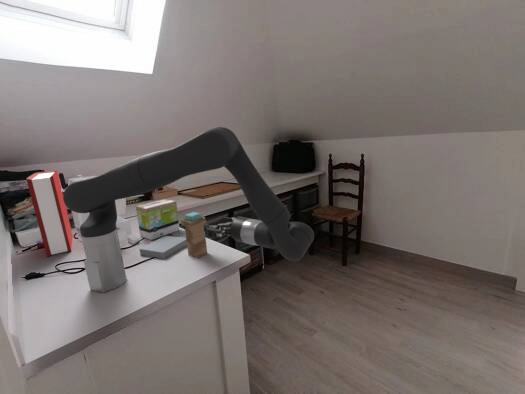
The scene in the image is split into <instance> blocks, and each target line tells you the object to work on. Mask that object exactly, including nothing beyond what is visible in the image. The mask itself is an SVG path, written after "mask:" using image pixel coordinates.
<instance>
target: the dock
mask: <svg viewBox="0 0 525 394" xmlns="http://www.w3.org/2000/svg"><path fill="white" fill-rule="evenodd" d="M186 246H187V241H186V237H180V236H178V237H177V236H172V235H171V236H169V235H164V236H161V237H159V239H157V240H153V241H152V242H150V243H148V244H146V245H145V246H143V247H140V248H139V253H140V256H144V257H145V256H146V257H150V256H151V257H152V258H156V257H157V258H156V259H163V260H164V259H167V258H168V257H170V256H171V255H173V254H175V253H176V252H178V251H179V250H181V249H183V248H185V247H186ZM151 257H150V258H151Z"/></svg>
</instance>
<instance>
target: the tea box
mask: <svg viewBox="0 0 525 394" xmlns="http://www.w3.org/2000/svg"><path fill="white" fill-rule="evenodd" d="M135 210H136V217H137V223H138V224H137V225H138V230H139V236H140V237H142V238H144V239H148V240H149V241H154V240H155V239H157V238H162V237H164V236H168V235H169V234H172V233H175V232H178V231H180V230H181V229H180V222H179V221H180V220H179V213H178V205H177V201H176V200H170V199H161V200H157V201H152V202H148V203H143V204H139V205H136V206H135Z"/></svg>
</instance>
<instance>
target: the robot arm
mask: <svg viewBox="0 0 525 394" xmlns="http://www.w3.org/2000/svg"><path fill="white" fill-rule="evenodd" d="M221 168H225V169H226V170H227V171H228V172H229V173H230V175H232V176H233V178H234V179H235V181H236V182H237V183H238V185H239V187H240V189H241V190H242V192H243V194H244V196H245V198H246V201H247V203H248V204H249V206H250V208H251V209H252V211H253V213H254V214H256V216H257V217H258V218H259V219H260V220H259V219H253V218H250V217H245V216H239V215H237V216H236V217H233V216H232V217H228V216H223V217H222V223H218V224H217V225H210V224H208V223H205V224H204V225H203V227H204V231H205V233H206V232H207V237H209V238H213V239H217V240H222V239H223V236H230V237H231V238H232V239H233V240H234V241H236V242H239V243H243V244H247V245H252V246H260V247H262V248H265V249H267V248H268V249H272V250H273V249H277V251H278V252H279V253H280V255H281V256H282V257H283V258H285V259H286V260H287V261H291V262H298V261H301V259H302V258H303V257H304V255H305V254H306V253H307V251H308V249H309V248H310V246H311V244H312V243H313V241H314V239H315V233H314V230H313V228H312V227H311V226H309V225H308V224H306V223H304V222H301V221H290V220H291V219H290V218H291V212H290V211H289V210H288V208H287V207H286V206H285V205H284V203H283V202H282V201H281V199H280V198H279V197H278V195H276V194H275V192H274V191H273V190H272V189H271V187H270V186H269V184H267V182H266V181H265V180H264V178H263V177H262V175H261V174H260V173H259V171H258V170H257V168H256V167H255V166H254V163H253V162H252V160H251V159H250V157H249V156H248V154H247V152H246V151H245V149H244V147H243V146H242V143H241V142H240V140H239V139H238V136H237V135H236V134H235V132H233V131H232V130H231V129H230V128H227V127H223V126H218V127H213V128H210V129H207V130H204V131H203V132H201V133H199V134H198V135H195V137H193V138H191V139H188V140H187V141H185V142H183V143H181V144H179V145H177V146H175V147H173V148H169V149H163V150H158V151H153V152H150V153H147V154H144V155H142V156H139V157H137V158H134V159H131V160H130V161H127V162H125V163H123V164H120V165H118V166H116V167H114V168H113V169H112V168H111V169H110V170H108V171H107V172H105V173H103V174H100V175H97V176H94V177H91V178H85V179H81V180H76V181H73V182H71V183H69V184H68V186H67V187H65V189H64V192H63V201H64V203H65V206H66V208H67V209H69V210H70V211H72V212H74V213H77V214H89V215H88V217H87V218H86V219H85V221H84V222H83V223H81V224H80V226H79V233H80V237H81V240H82V245H83V249H84V254H85V258H86V259H85V260H84V261H83V264H84V270H85V274H86V276H87V281H88V286H89V289H90V290H91V291H95V292H99V293H102V294H103V293H106V292H108V291H111V290H112V291H113V290H114V289H117V288H119V287H121V286H122V285H124V284H125V283H126V281H127V280H128V279H127V278H128V277H127V273H126V270H125V264H124V259H123V252H122V250H121V249H122V248H121V245H120V244H121V243H120V239H119V234H118V229H117V221H118V212H117V205H116V201H117V200H121V199H125V198H126V199H127V198H131V197H135V196H138V195H143V194H146V193H149V192H152V191H155V190H158V189H161V188H164V187H166V186H168V185H170V184H172V183H175V182H176V181H178V180H180V179H183V178H184V177H188V176H191V175H196V174H199V173H203V172H208V171H209V172H210V171H214V170H218V169H221ZM221 227H222V229H221Z"/></svg>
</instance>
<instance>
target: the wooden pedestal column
mask: <svg viewBox="0 0 525 394" xmlns="http://www.w3.org/2000/svg"><path fill="white" fill-rule="evenodd" d="M180 224H181V226H183V227H184V233H185V238H186V241H187V245H186V246H187V255H188V256H190V257H193V258H195V259H198V258H201V257H203V256H205V255H207V254H208V248H207V247H208V246H207V239H206V231H204V227H203V225H205V224H207V218H206V217H205V216H201V219H200V220H197V221H194V222H189V221H186V220H185V218H183V219H180Z"/></svg>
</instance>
